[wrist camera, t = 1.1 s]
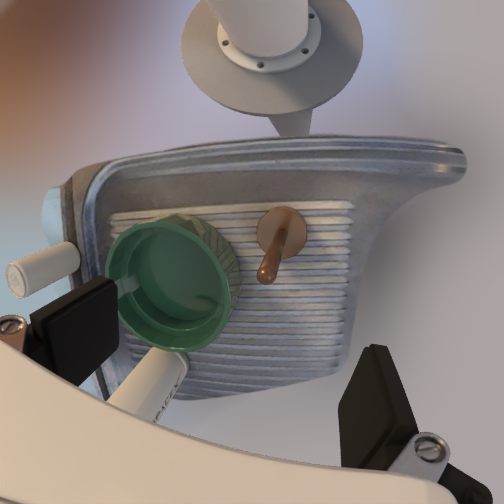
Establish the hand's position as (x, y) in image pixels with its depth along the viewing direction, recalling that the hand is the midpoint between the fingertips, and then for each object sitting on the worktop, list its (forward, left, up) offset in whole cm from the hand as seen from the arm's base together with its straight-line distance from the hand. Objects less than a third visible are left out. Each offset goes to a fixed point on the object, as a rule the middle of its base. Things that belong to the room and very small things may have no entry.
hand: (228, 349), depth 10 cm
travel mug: (+22, -12, -24) cm, 35 cm away
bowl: (+8, -11, -24) cm, 27 cm away
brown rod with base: (0, 0, -24) cm, 24 cm away
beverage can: (+10, -30, -24) cm, 40 cm away
